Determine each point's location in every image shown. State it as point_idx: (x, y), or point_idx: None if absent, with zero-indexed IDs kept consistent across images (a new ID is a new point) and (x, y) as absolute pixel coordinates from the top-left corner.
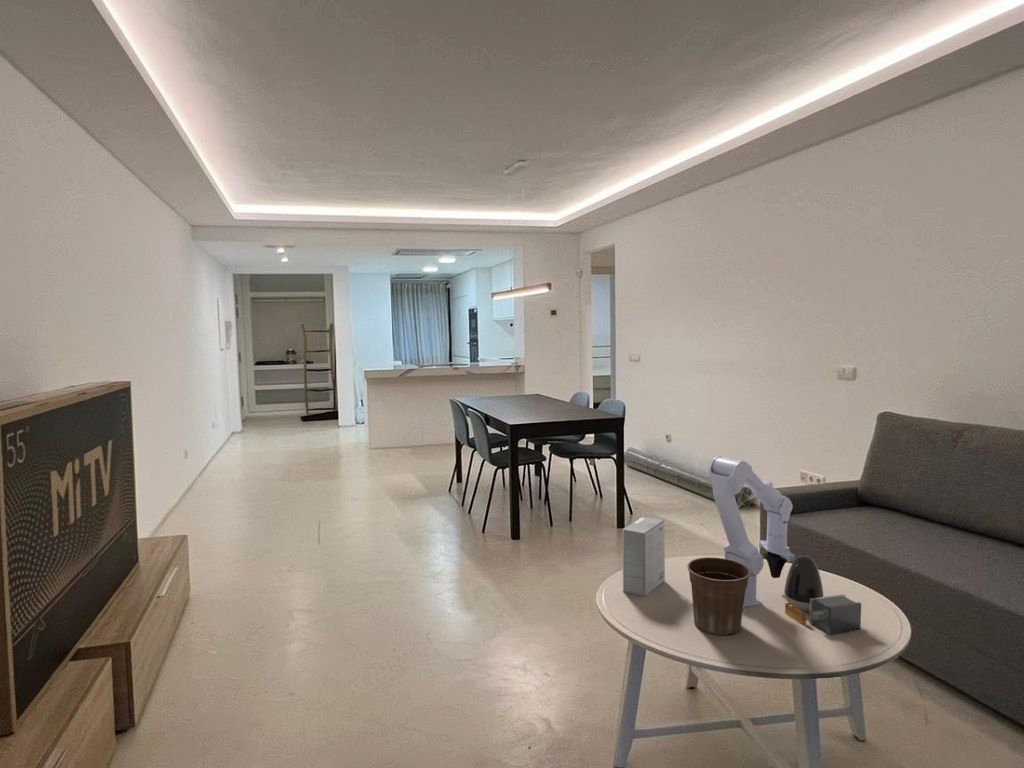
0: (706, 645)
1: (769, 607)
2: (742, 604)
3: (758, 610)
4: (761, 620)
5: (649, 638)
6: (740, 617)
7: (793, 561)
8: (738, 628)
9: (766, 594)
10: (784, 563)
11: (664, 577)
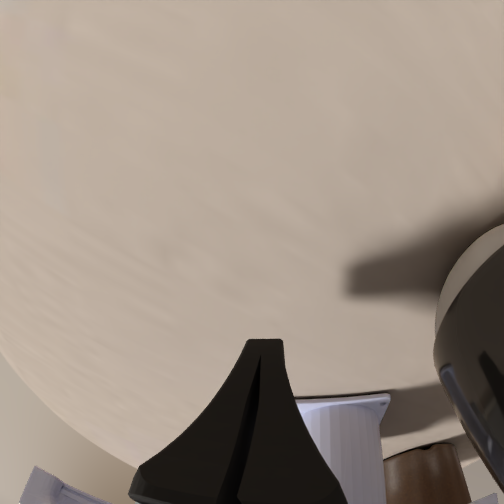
0: None
1: (416, 380)
2: (468, 492)
3: (412, 407)
4: (454, 412)
5: None
6: (461, 470)
7: (488, 500)
8: (456, 452)
9: (309, 347)
10: (315, 446)
11: None
